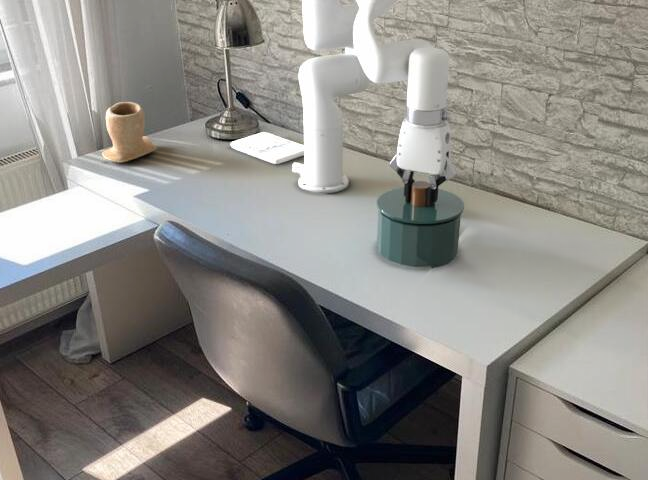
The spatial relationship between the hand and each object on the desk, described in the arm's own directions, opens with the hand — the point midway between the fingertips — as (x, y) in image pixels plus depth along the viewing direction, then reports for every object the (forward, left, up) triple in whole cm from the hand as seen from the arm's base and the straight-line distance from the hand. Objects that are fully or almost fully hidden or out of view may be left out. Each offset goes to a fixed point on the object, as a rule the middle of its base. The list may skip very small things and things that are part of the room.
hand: (420, 201), depth 163 cm
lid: (0, 0, -1) cm, 1 cm away
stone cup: (-91, +16, -11) cm, 93 cm away
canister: (0, 0, -11) cm, 11 cm away
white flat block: (-60, +38, -11) cm, 72 cm away
